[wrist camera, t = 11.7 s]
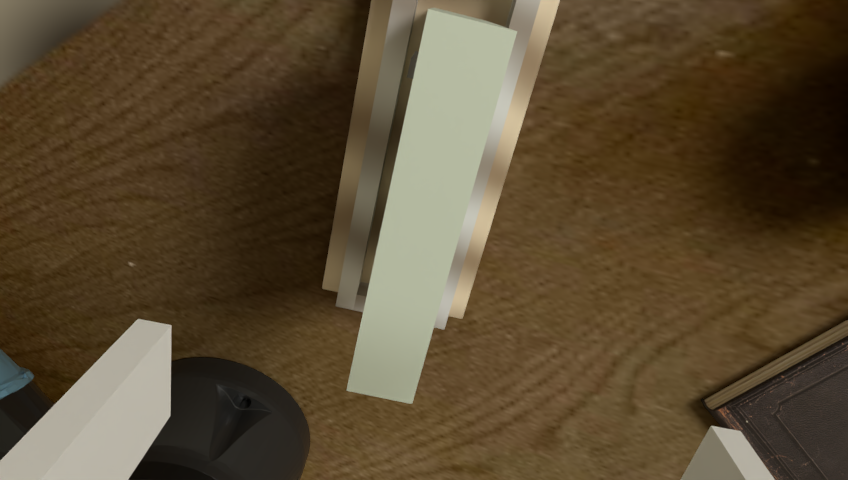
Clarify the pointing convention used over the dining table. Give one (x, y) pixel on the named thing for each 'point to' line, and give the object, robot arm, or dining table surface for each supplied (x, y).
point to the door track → (382, 126)
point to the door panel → (428, 196)
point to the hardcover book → (794, 410)
